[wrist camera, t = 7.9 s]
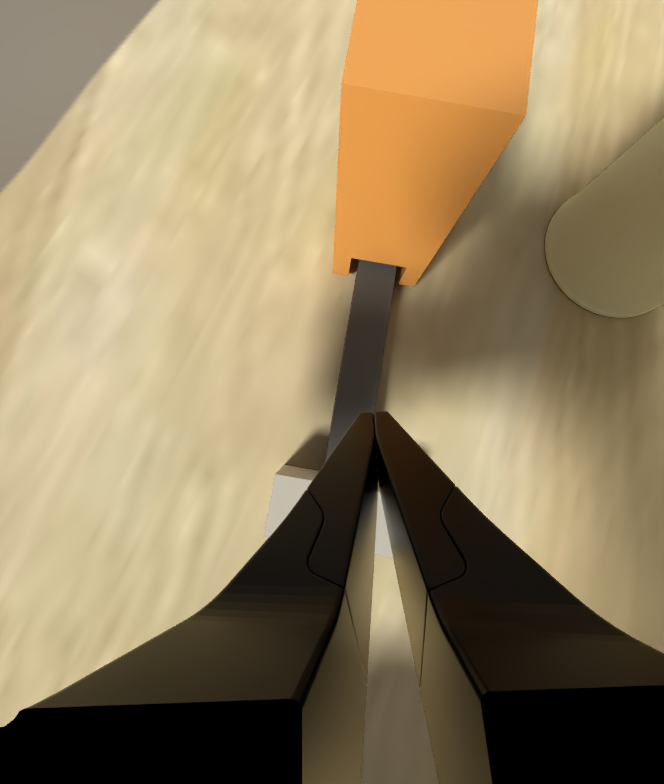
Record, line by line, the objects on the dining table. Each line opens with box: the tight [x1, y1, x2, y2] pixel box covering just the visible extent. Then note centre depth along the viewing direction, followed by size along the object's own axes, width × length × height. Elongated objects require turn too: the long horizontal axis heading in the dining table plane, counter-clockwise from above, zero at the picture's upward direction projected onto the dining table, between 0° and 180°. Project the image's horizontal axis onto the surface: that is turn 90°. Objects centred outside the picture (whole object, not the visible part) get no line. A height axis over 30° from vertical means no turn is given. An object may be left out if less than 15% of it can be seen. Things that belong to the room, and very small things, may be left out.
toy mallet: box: [264, 259, 397, 558], centre depth 15 cm, size 26×7×5 cm, turn 170°
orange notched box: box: [333, 0, 538, 287], centre depth 13 cm, size 6×5×10 cm
